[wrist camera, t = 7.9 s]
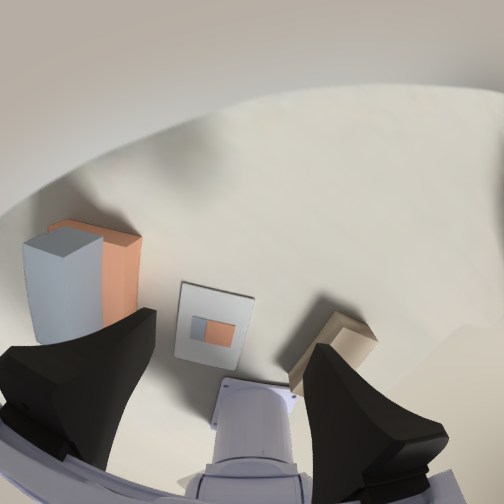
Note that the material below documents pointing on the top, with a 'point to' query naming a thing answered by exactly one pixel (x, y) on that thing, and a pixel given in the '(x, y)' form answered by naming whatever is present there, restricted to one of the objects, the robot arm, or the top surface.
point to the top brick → (64, 284)
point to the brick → (337, 346)
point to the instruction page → (211, 326)
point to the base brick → (114, 269)
